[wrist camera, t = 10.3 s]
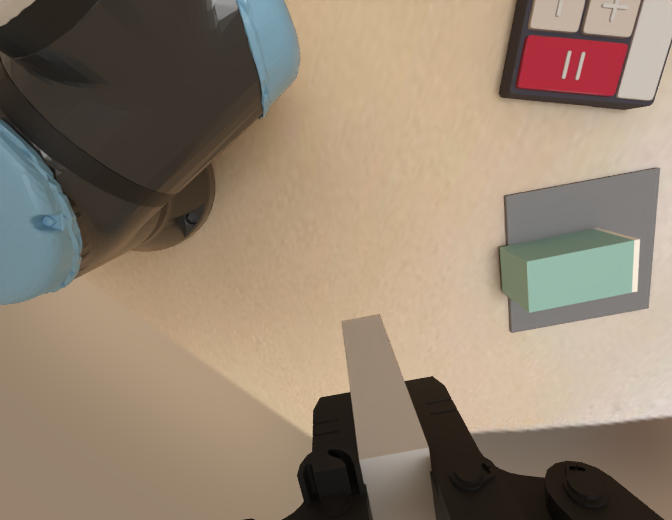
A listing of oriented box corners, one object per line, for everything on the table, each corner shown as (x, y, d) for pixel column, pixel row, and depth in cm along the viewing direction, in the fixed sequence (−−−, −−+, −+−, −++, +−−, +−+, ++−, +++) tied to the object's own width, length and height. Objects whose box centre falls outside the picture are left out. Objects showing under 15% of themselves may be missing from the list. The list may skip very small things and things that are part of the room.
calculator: (538, -39, 33) (699, -23, 33) (516, -17, 37) (659, -4, 37) (512, 92, 36) (659, 105, 36) (494, 98, 40) (626, 110, 40)
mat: (504, 195, 42) (506, 196, 42) (656, 167, 42) (659, 167, 42) (509, 331, 48) (511, 332, 47) (645, 306, 47) (648, 308, 47)
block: (526, 261, 38) (640, 239, 38) (499, 247, 44) (597, 227, 43) (529, 312, 40) (637, 291, 39) (502, 292, 45) (597, 273, 45)
